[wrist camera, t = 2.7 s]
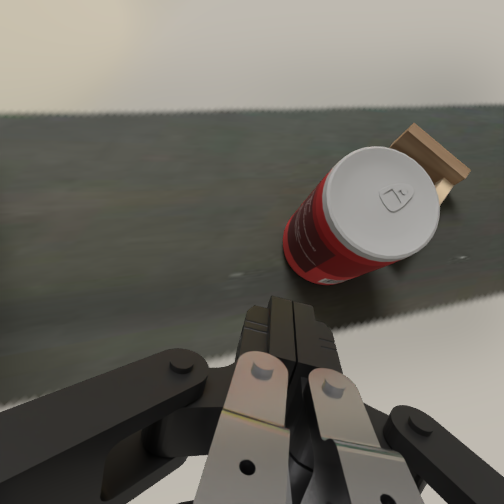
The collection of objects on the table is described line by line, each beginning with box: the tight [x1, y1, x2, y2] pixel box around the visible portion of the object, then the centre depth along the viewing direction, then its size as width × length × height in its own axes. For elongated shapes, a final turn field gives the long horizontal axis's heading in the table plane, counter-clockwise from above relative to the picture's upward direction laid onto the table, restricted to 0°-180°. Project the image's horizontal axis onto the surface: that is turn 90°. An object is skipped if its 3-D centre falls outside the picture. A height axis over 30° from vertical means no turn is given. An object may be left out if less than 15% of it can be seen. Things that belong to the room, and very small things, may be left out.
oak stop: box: [389, 123, 471, 205], centre depth 34 cm, size 11×7×4 cm, turn 140°
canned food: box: [283, 146, 440, 285], centre depth 28 cm, size 8×8×11 cm
